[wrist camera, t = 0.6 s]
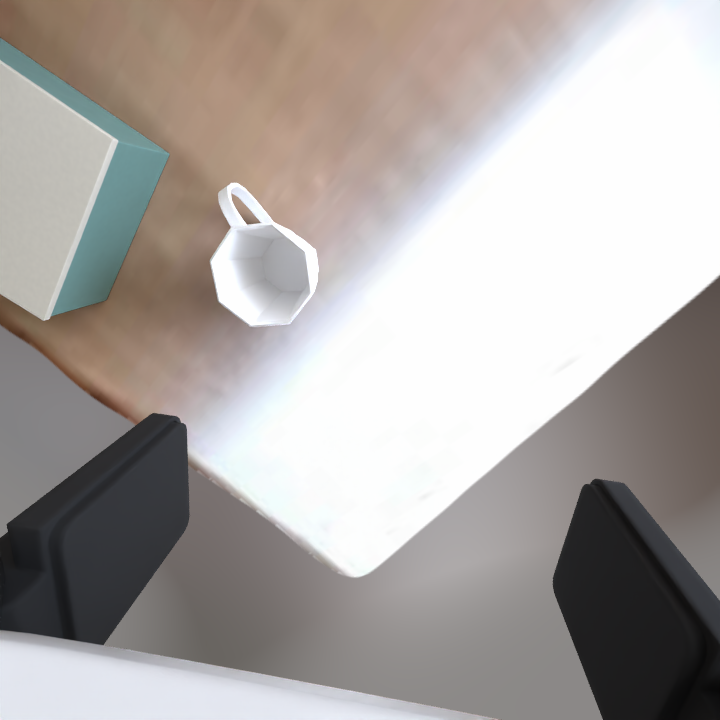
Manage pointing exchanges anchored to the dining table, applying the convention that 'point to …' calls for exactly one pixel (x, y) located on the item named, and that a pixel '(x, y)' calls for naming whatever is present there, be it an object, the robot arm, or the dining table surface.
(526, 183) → the dining table surface
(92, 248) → the stand
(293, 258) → the cup
